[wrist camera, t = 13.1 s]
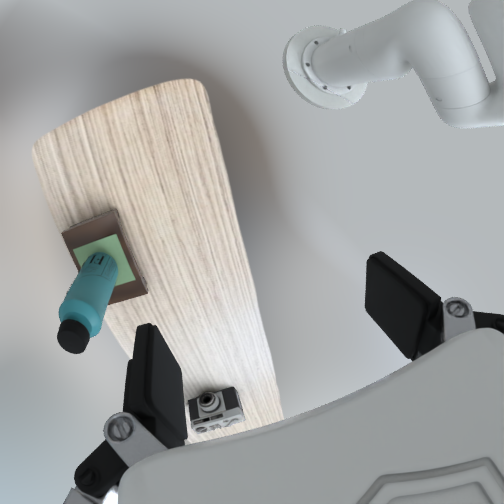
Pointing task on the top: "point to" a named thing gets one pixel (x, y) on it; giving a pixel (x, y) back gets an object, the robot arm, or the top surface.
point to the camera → (215, 410)
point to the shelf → (107, 252)
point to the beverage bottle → (86, 302)
